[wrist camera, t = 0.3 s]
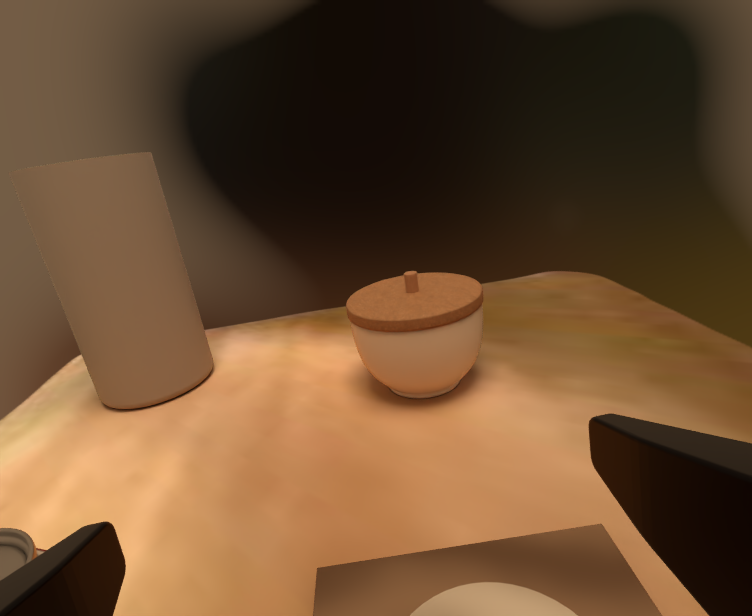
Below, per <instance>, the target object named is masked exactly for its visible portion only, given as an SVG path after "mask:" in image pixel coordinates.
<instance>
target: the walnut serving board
mask: <svg viewBox="0 0 752 616" xmlns="http://www.w3.org/2000/svg"><path fill="white" fill-rule="evenodd" d="M313 616H662V615H661V613H660V612H659V610H658V609H657V607H656V606H655V604H654V603H653V601H652V600H651V598H650V597H649V595H648V593H647V592H646V590H645V589H644V587H643V586H642V584H641V583H640V581H639V580H638V578H637V577H636V575H635V574H634V572H633V571H632V569H631V568H630V566H629V565H628V563H627V562H626V560H625V558H624V557H623V555H622V554H621V552H620V551H619V549H618V548H617V546H616V545H615V543H614V542H613V540H612V539H611V537H610V536H609V534H608V533H607V531H606V530H605V528H604V526H603V525H602V524H597V525H590V526H584V527H577V528H571V529H565V530H558V531H552V532H545V533H539V534H532V535H526V536H520V537H513V538H507V539H500V540H494V541H488V542H481V543H475V544H468V545H462V546H456V547H449V548H443V549H436V550H430V551H423V552H417V553H411V554H404V555H398V556H391V557H385V558H379V559H372V560H366V561H359V562H353V563H347V564H340V565H334V566H327V567H321V568H317V576H316V588H315V600H314V612H313Z"/></svg>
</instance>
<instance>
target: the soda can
mask: <svg viewBox="0 0 752 616" xmlns="http://www.w3.org/2000/svg"><path fill="white" fill-rule="evenodd" d="M45 551H47V550H43V549H38V548H36V546H35V544H34V542H33V540H32V538H31V537H30V536H29V535H28V534H27V533H25V532H23V531H21V530H18V529H13V528H0V580H2V579H4V578H5V577H7V576H8V575H10V574H11V573H13V572H14V571H16V570H17V569H19V568H20V567H22V566H24V565H25V564H27V563H28V562H30V561H31V560H33V559H34V558H36V557H37V556H39V555H40V554H42V553H44V552H45Z"/></svg>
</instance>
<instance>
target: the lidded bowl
mask: <svg viewBox="0 0 752 616" xmlns="http://www.w3.org/2000/svg"><path fill="white" fill-rule="evenodd" d="M482 303H483V288H482V286H481V284H480V283H479V282H478V281H476V280H474V279H472V278H470V277H467V276H463V275H458V274H451V273H421V274H417V272H416V271H410V272H405V273H404V276H399V277H395V278H390V279H386V280H382V281H379V282H376V283H374V284H371V285H369V286H366V287H364V288H362V289H360V290H359V291H357V292H355V293H354V294H353V295H352V296H351V297H350V298H349V299H348V301H347V304H346V309H347V315H348V318H349V320H350V322H351V328H352V333H353V337H354V341H355V344H356V347H357V350H358V353H359V355H360V357H361V359H362V361H363V363H364V365H365V366H366V368H367V369H368V371H369V372H370V373H371V374H372V375H373V376H374V377H375V378H376V379H377V380H378V381H380V382H381V383H382V384H384V385H386V386H387V387H389V388H390V390H391V391H392V392H394V393H395V394H397V395H399V396H402V397H406V398H415V399H423V398H431V397H436V396H439V395H442V394H445V393H447V392H449V391H451V390H452V389H454V388H455V387H456V386H457V385H458V384H459V382H460V380H461V378H462V377H463V376H464V375H466V373H467V372H468V371H469V370H470V369H471V367H472V366H473V364H474V362H475V361H476V358H477V356H478V353H479V350H480V347H481V342H482V336H483V308H482Z"/></svg>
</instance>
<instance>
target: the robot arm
mask: <svg viewBox="0 0 752 616" xmlns="http://www.w3.org/2000/svg"><path fill="white" fill-rule="evenodd" d="M589 438H590V452H591V459H592V463H593V465H594V468H595V469H596V471H597V472H598V474H599V475H600V477H601V478H602V480H603V481H604V483H605V484H606V485H607V487H608V488H609V490H610V491H611V493H612V494H613V496H614V497H615V498H616V500H617V501H618V503H619V504H620V506H621V507H622V508H623V510H624V511H625V513H626V514H627V516H628V517H629V519H630V520H631V521H632V523H633V524H634V526H635V527H636V528H637V530H638V531H639V533H640V534H641V535H642V537H643V538H644V539H645V540H646V542H647V543H648V544H649V545H650V546H651V548H652V549H653V550H654V551H655V552H656V554H657V555H658V556H659V557H660V558H661V560H662V561H663V562H664V563H665V564H666V565H667V567H668V568H669V569H670V570H671V571H672V572H673V574H674V575H675V576H676V577H677V578H678V580H679V581H680V582H681V583H682V584H683V585H684V587H685V588H686V589H687V590H688V591H689V592H690V594H691V595H692V596H693V597H694V598H695V600H696V601H697V602H698V603H699V604H700V605H701V607H702V608H703V609H704V610H705V611H706V612H707V614H708V615H709V616H752V444H751V443H747V442H742V441H737V440H733V439H728V438H723V437H719V436H714V435H709V434H705V433H700V432H696V431H691V430H686V429H682V428H677V427H672V426H668V425H663V424H658V423H654V422H649V421H644V420H640V419H635V418H630V417H626V416H621V415H617V414H605V415H600V416H596V417H593V418H591V420H590V421H589ZM125 569H126V565H125V559H124V555H123V552H122V549H121V546H120V543H119V540H118V537H117V534H116V531H115V529H114V526H113V525H112V524H111V523H109V522H100V523H96V524H91V525H87V526H84V527H82V528H81V529H79V530H77V531H76V532H74V533H73V534H71V535H70V536H68V537H67V538H65V539H64V540H62V541H61V542H59V543H57V544H56V545H54V546H53V547H51V548H50V549H48V550H47V551H45V552H44V553H42V554H40V555H39V556H37V557H36V558H34V559H33V560H31V561H30V562H28V563H27V564H25V565H24V566H22V567H20V568H19V569H17V570H16V571H14V572H13V573H11V574H10V575H8V576H7V577H5V578H4V579H2V580H0V616H113V613H114V610H115V606H116V603H117V600H118V596H119V593H120V589H121V586H122V583H123V579H124V576H125Z"/></svg>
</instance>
